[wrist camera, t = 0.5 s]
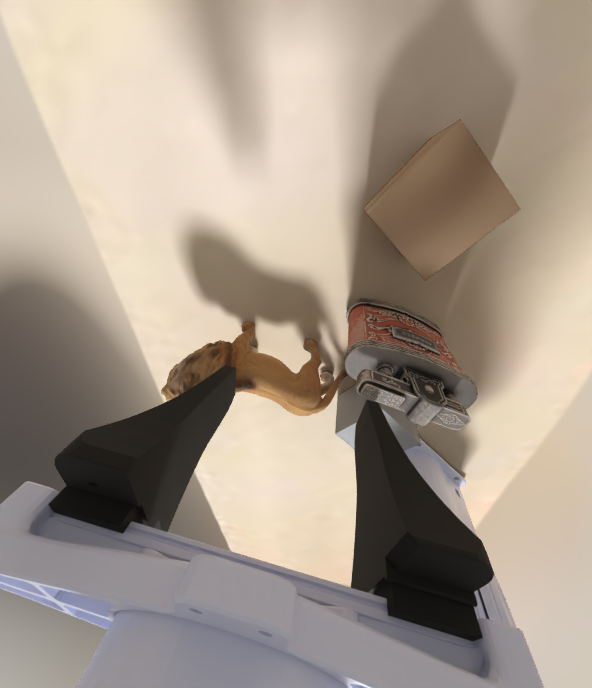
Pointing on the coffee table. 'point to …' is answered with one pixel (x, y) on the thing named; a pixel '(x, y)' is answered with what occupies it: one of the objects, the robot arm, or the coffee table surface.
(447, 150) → the walnut block
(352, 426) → the gray block
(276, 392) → the lion figurine
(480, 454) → the coffee table surface
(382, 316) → the lighter
